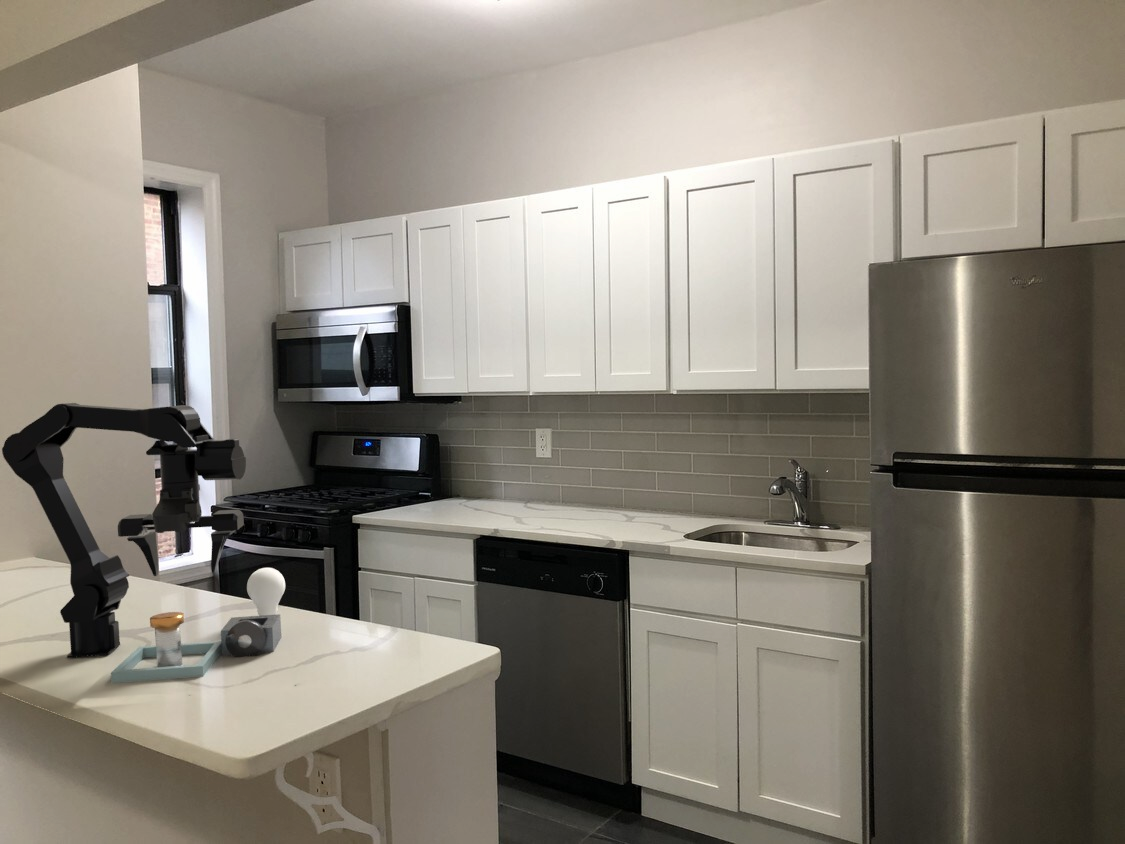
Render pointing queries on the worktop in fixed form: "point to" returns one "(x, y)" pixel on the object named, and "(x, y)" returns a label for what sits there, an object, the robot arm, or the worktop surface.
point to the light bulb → (266, 590)
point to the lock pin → (168, 638)
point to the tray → (129, 674)
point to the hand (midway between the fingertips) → (185, 574)
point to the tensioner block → (251, 635)
